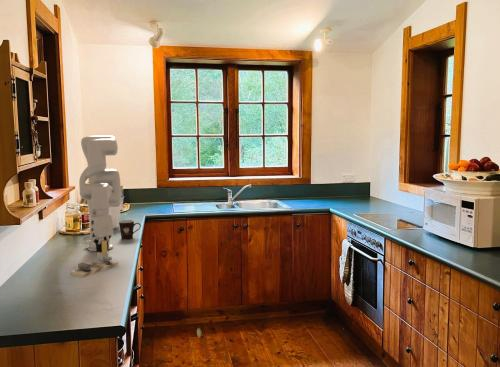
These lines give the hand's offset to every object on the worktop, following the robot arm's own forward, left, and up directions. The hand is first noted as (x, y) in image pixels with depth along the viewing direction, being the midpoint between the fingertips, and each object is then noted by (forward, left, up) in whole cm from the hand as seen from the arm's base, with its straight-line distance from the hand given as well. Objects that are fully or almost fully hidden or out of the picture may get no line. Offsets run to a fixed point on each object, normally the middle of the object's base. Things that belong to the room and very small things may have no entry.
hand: (102, 250), depth 211 cm
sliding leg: (+1, 0, -5) cm, 6 cm away
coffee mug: (-17, +51, -7) cm, 54 cm away
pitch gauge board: (0, -6, -7) cm, 9 cm away
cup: (-42, +74, -7) cm, 86 cm away
